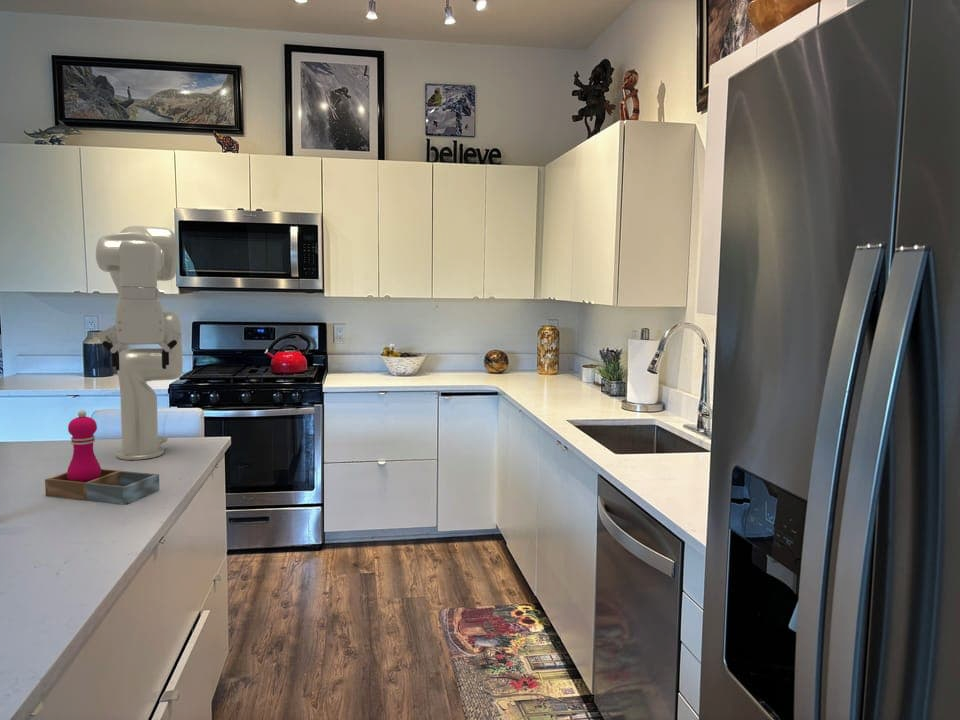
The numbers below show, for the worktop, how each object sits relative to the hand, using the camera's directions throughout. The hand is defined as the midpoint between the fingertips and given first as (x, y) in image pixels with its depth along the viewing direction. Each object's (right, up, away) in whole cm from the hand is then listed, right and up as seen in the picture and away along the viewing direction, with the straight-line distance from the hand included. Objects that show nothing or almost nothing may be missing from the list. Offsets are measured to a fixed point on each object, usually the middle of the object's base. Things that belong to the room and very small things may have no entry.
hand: (141, 369), depth 154 cm
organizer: (-13, -30, +7) cm, 34 cm away
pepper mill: (-18, -30, +8) cm, 36 cm away
